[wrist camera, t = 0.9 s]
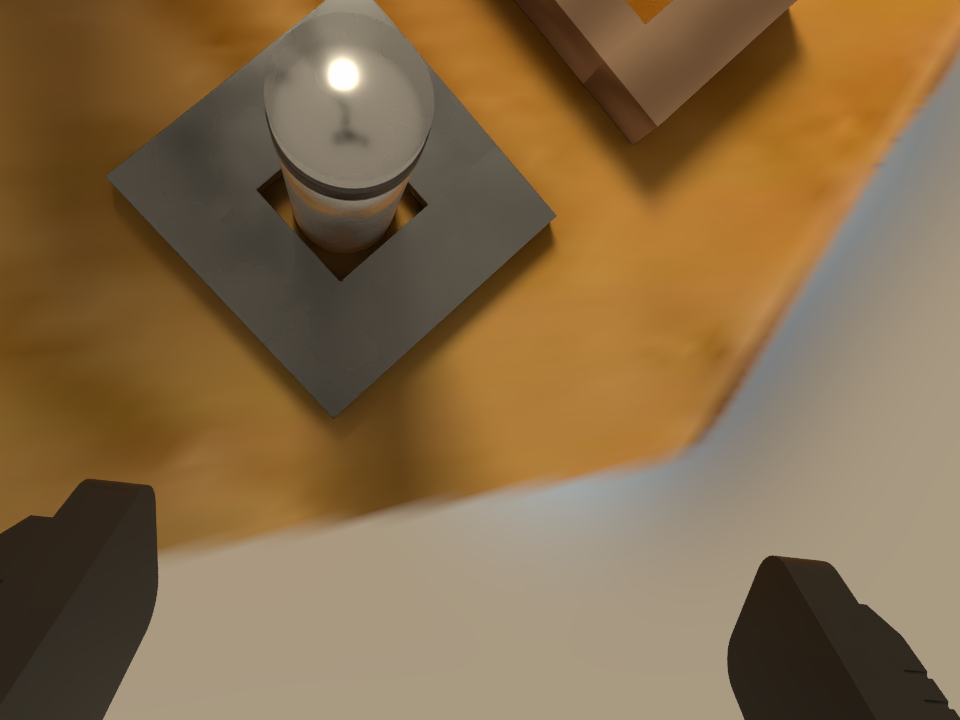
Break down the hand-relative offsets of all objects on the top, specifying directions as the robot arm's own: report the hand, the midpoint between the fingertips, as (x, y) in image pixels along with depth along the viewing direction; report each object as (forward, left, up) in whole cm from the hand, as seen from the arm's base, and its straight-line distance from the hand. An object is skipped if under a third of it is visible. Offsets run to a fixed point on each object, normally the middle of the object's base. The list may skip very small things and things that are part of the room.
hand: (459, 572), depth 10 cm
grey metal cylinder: (-8, +5, -20) cm, 22 cm away
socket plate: (-8, +5, -20) cm, 22 cm away
